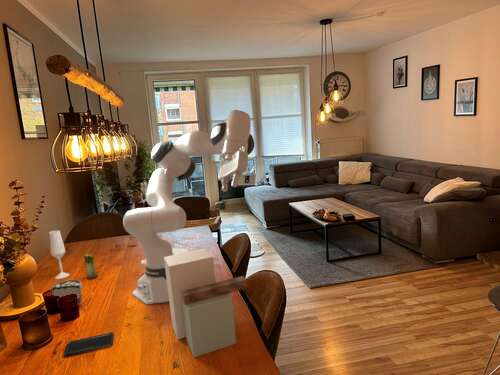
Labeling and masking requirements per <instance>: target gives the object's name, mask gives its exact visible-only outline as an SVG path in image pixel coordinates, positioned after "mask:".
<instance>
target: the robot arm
mask: <svg viewBox="0 0 500 375" xmlns="http://www.w3.org/2000/svg"><path fill="white" fill-rule="evenodd" d="M251 124H252V123H251V116H250V114H248V113H247V112H245V111H242V110H240V109H232V110H231V111H230V112H229V114H228V117H227V118H226V119H224V121H223V122H220V123H216V124H215V125H213V126H212V127H211V129H210V134H209V133H207V132H204V131H200V130H192V131H189V132H185V133H184V134H182V135H181V136H179V137H178V138H177V140H176V141H175V142H174V143H173V141H172V140H168V141H167V140H166V141H159V142H158V143H156V144H155V146H154V147H152V150H151V153H150V159H151V160H152V161H153V163H155V164H157V165H159V166H160V167H161V168H157V169H155V170H154V171H153V172H152V174H151V177H150V178H149V181H148V185H147V189H146V195H145V201H146V203H147V204H148V205H149V206H148V207H137V208H134V209H130V210H127V211H126V212H125V214H124V216H123V218H122V225H123V228H124V231H126V232H127V233H128V234H129V235H132V236H133V237H134V238H135V239H136V240H137V241H138V242H139V243H140V245H141V246H142V249H143V251H144V255H145V256H144V257H145V259H146V262H147V264H145V265H144V266H143V269H144V270H145V271H144V274H143V275H141V277H140V278H138V280H137V281H136V282H137V283H136V286H137V288H135V289H134V290H133V291H132V296H133V297H135V298H137V299H138V300H140V302H142V303H143V304H145V305H147V306H148V305H153V304H160V303H161V304H162V303H167V302H169V296H168V287H167V279H166V271H165V263H164V257H166V256H171V255H173V252H172V248H173V246H172V244H171V243H170V242H169V241H168V240H166V239H163V238H161V237H160V236H158V234H163V233H172V232H176V231H179V230H182V229H183V228H184V227H185V225H186V223H187V214H186V212H185V210H184V209H183V207H181V206H179V205H178V204H176V203H175V202H174V201H173V191H174V190H173V189H174V182H175V181H177V182H181V181H183V180H187V179H189V178H190V177H191V176H192V175H193V174H194V173H195V171H196V168H197V167H196V162H195V161H194V160H193V159H192V158H190V157H198V156H209V155H219V156H218V161H219V164H218V171H217V179H218V181H219V182H221V185H222V186H221V191H222V192H227V191H228V190H229V185H228V183H229V181H231V180H232V181H231V185H230V186H231V187H233V188H237V187H238V184H239V182H240V179H241V175H242V174H244V173H246V171H247V170H248V164H249V162H248V161H249V155H250V154H252V153H253V151H254V149H255V139H254V137H253V135H252V134H251V126H252V125H251Z"/></svg>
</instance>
